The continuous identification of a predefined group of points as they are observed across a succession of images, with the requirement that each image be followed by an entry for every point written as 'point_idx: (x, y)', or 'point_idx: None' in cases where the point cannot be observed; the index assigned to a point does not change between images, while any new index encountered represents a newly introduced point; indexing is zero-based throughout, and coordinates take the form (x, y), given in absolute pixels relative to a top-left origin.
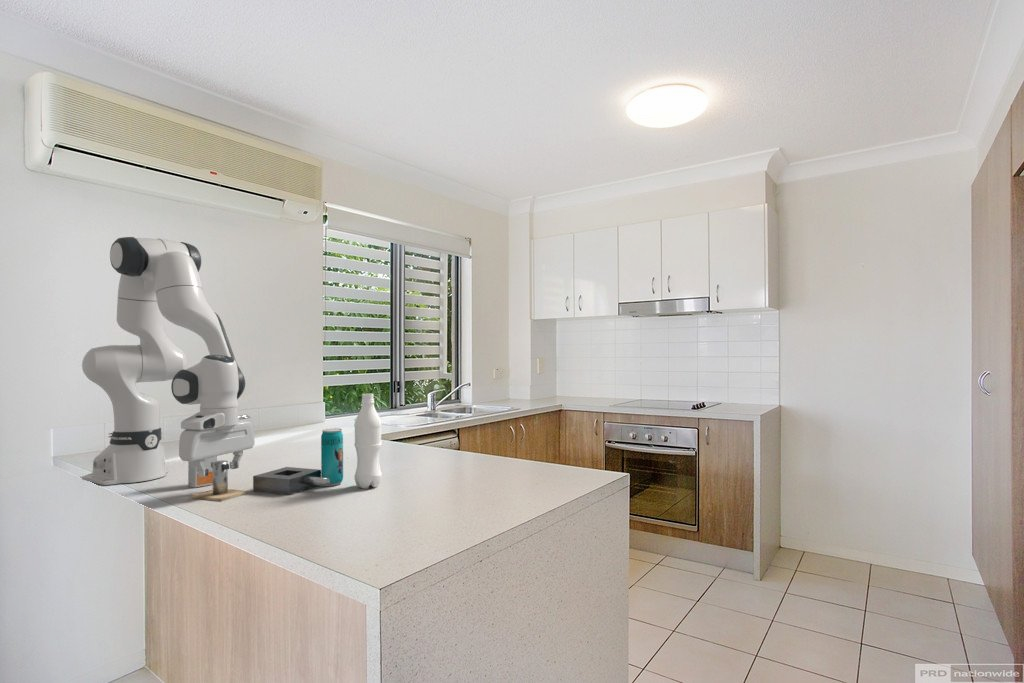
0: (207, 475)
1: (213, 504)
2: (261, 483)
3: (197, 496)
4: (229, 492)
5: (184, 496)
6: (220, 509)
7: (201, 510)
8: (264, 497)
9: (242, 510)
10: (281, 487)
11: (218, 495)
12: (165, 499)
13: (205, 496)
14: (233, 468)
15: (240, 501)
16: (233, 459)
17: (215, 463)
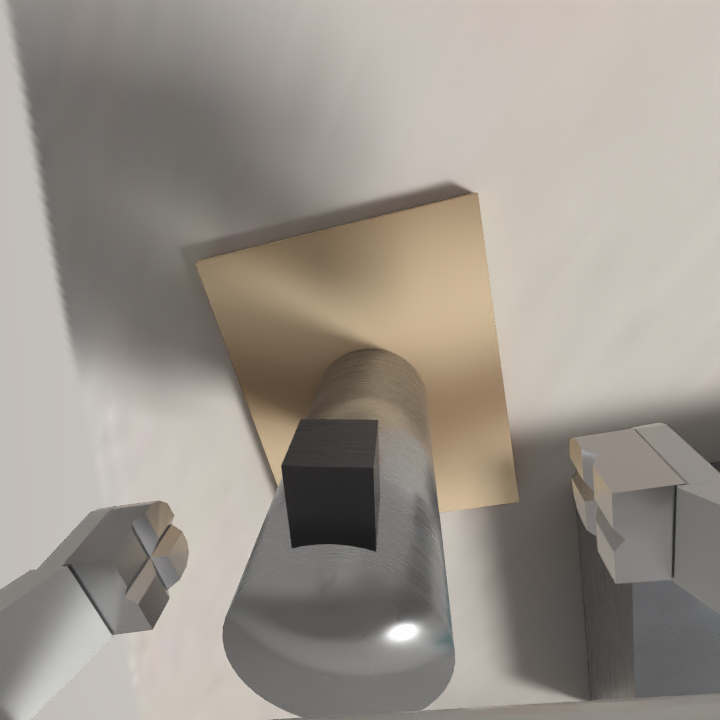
0: (181, 554)
1: (238, 538)
2: (606, 600)
3: (221, 329)
4: None
5: (182, 146)
6: (221, 635)
7: None
8: (492, 639)
9: (280, 713)
10: None
11: None
12: (33, 102)
13: (255, 395)
14: (574, 494)
15: None
16: (716, 522)
17: (240, 671)
